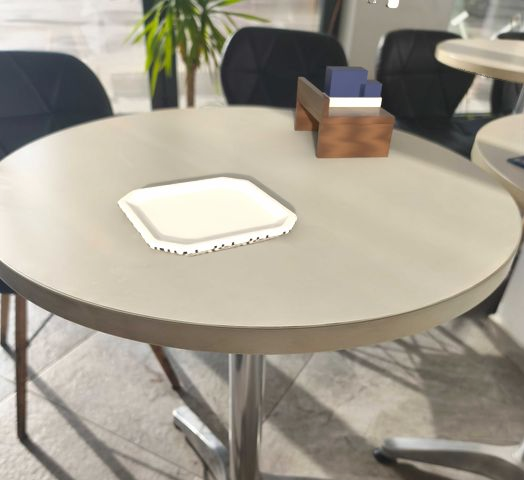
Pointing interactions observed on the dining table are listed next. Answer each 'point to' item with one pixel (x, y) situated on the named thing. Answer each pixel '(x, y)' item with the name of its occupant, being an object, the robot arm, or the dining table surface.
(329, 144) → the shoe shelf
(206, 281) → the dining table surface
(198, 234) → the plate
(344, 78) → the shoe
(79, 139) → the dining table surface
